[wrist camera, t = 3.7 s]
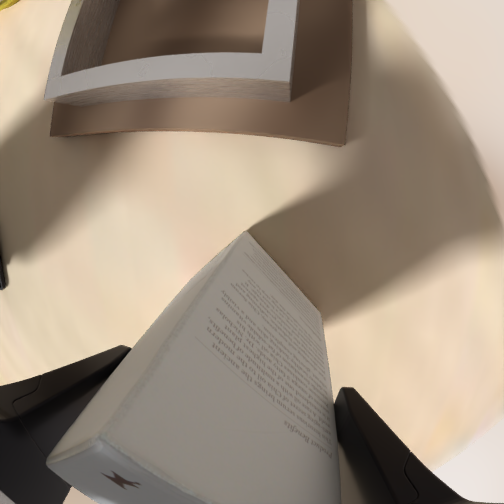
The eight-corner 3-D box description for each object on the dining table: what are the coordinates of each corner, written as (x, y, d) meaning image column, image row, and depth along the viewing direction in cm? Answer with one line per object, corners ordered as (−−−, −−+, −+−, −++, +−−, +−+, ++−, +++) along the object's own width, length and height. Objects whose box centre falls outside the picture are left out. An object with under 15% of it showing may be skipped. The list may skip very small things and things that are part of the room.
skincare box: (188, 279, 15) (35, 459, 4) (246, 227, 14) (91, 432, 2) (264, 356, 16) (221, 561, 4) (324, 314, 15) (352, 550, 3)
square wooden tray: (62, 136, 14) (49, 136, 13) (109, -35, 10) (101, -42, 9) (340, 147, 12) (344, 144, 11) (346, -53, 8) (348, -64, 7)
